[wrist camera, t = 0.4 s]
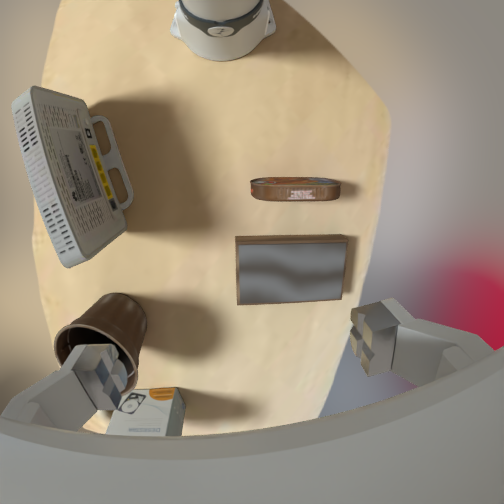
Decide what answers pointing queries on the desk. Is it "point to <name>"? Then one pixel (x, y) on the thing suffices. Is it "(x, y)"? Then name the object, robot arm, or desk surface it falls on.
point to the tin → (295, 189)
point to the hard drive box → (149, 413)
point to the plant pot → (108, 332)
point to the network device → (70, 173)
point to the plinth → (290, 268)
